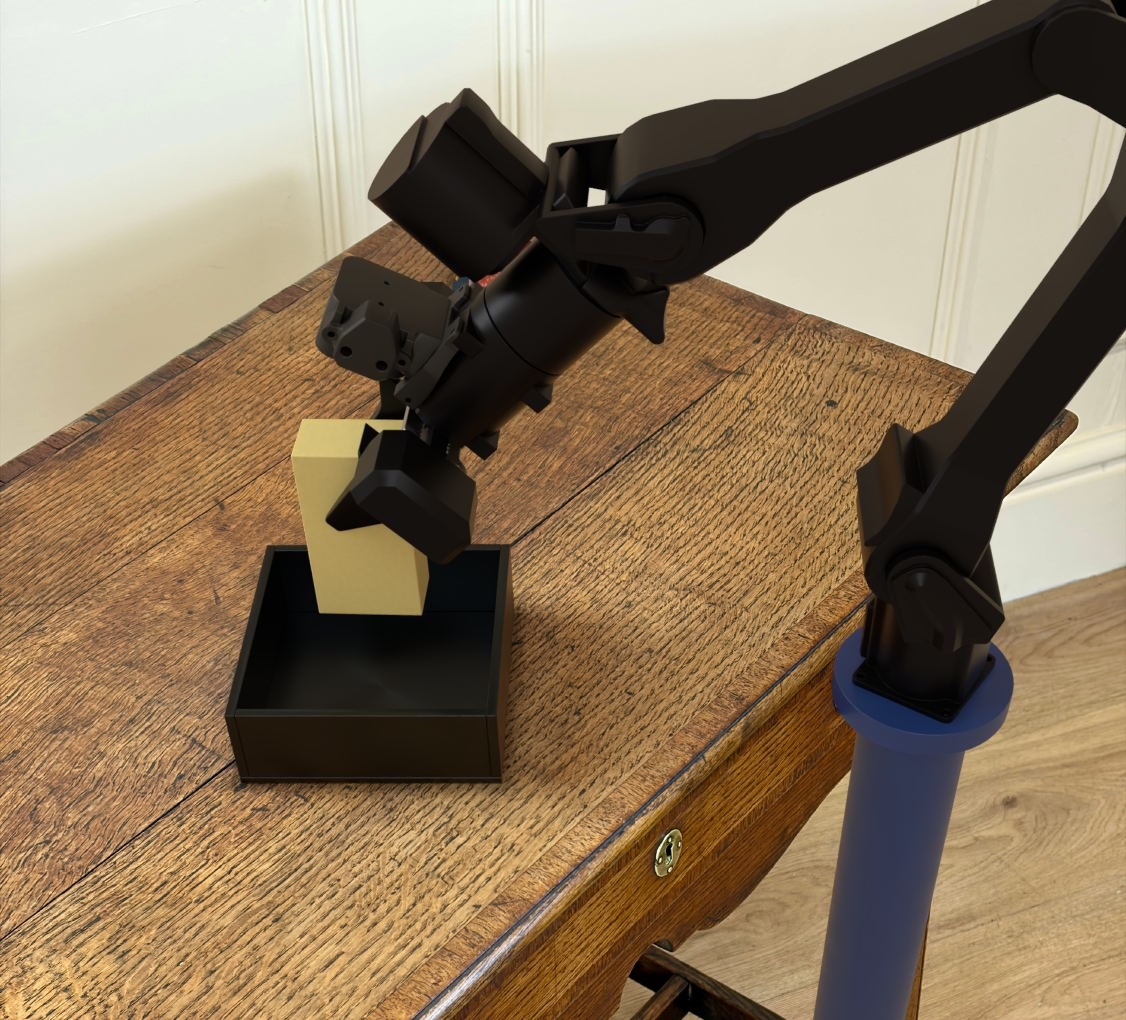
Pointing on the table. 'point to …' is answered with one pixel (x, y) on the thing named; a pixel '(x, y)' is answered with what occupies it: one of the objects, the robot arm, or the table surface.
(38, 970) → the table surface
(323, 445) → the block
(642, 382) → the table surface
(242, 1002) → the table surface
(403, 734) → the bin
